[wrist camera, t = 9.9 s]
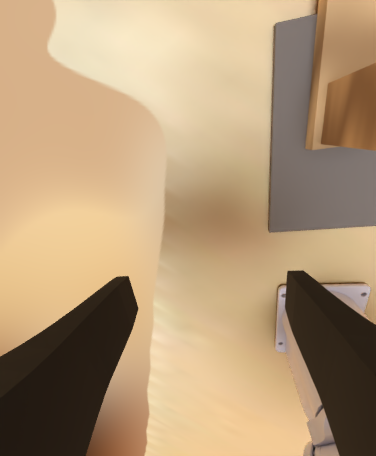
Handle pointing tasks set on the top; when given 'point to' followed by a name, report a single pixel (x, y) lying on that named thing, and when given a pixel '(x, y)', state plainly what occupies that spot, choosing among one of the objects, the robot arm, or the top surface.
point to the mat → (311, 159)
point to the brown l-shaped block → (343, 76)
